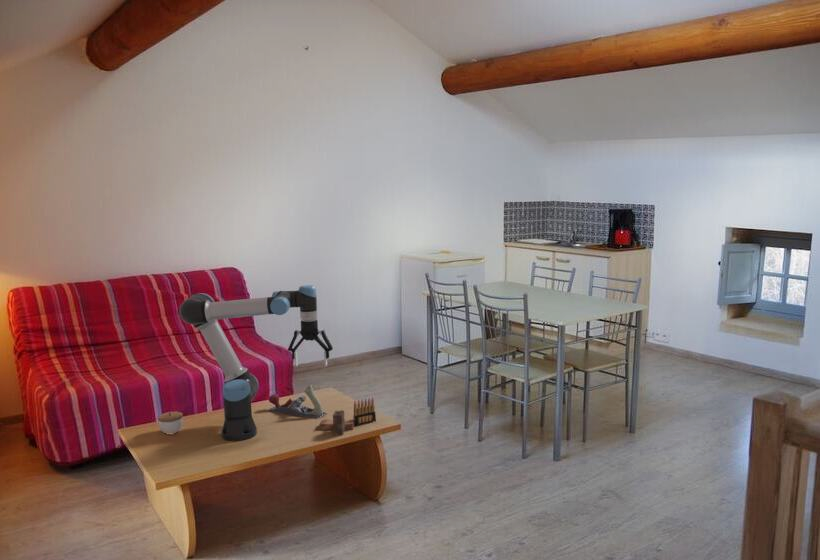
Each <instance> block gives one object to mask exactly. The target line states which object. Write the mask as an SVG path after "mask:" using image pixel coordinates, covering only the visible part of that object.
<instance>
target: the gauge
mask: <svg viewBox="0 0 820 560" xmlns="http://www.w3.org/2000/svg"><path fill="white" fill-rule="evenodd" d="M332 420H333V429H332V431H333V436H343V435H344V433H345V431H346V429H345V420H346V419H345V410H343V409H340V410H334V412H333V414H332Z"/></svg>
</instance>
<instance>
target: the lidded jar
mask: <svg viewBox="0 0 820 560" xmlns="http://www.w3.org/2000/svg"><path fill="white" fill-rule="evenodd" d="M183 416H184V415H183V412H179V411H168V412H164V413H161V414H159V415H158V416H157V423H158V424H157V425H158V427H159V430H160V431H162V433H164V434H165V433H175V432H178V431H180V430H181V429H182V427H183V423H184V417H183ZM178 433H179V432H178Z"/></svg>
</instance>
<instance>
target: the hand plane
mask: <svg viewBox="0 0 820 560" xmlns="http://www.w3.org/2000/svg"><path fill="white" fill-rule="evenodd" d="M304 393H305V394H306V396H307V397H308V398H309V400H310V401H311V403H312V405H313V407H314V408H312V407H309V406H306V405H305V404H303V403H304V402H306V400H307V397H306V396H305V395H300V396H298V397H296V398H294V400H293V399H291V398H289V399H288V400H287V401H286V402H285V403H284V404H280V402H279V401H280V396H279V395H278V394H277V393H273V394H272V395H270V396H269V397H268V402H269V403H271V404H272V405H274V406H273V407H271V408H270V409H268V412H273V413H277V414H284V413H285V415H291V414H292V416H297V417H304V416H305V417H306V418H311V417H314V418H313V419H317V418H319V419H322V418H324V417H326V416H327V414H328V413H327V412H324V411H323V410H324V409H323V406H322V405H323V404H322V403H321V401H320V400H319V398H318V396H317V394H316V393H315V391H314V389H313V385H312V384H310V385H308V386H307V387H306V388H305V390H304ZM324 414H325V415H326V416H325V415H324ZM322 415H323V416H324V417H323V416H322ZM320 416H321V417H322V418H321V417H320ZM305 417H304V418H305Z"/></svg>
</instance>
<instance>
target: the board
mask: <svg viewBox="0 0 820 560" xmlns="http://www.w3.org/2000/svg"><path fill="white" fill-rule="evenodd" d="M318 427H319V430H333V419H321V420H320V421H319V426H318ZM354 428H355V424H354V420H353V419H345V430H354Z"/></svg>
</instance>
